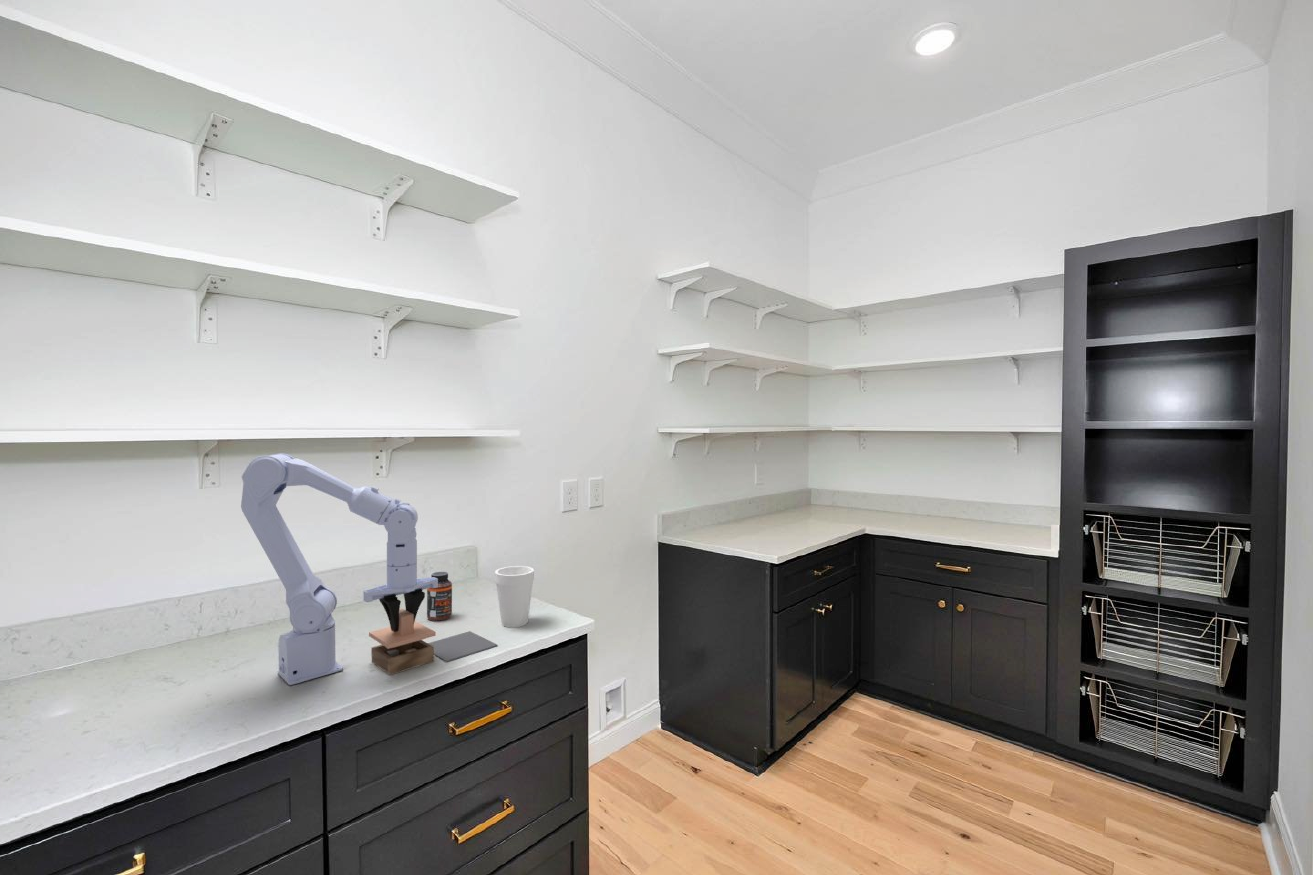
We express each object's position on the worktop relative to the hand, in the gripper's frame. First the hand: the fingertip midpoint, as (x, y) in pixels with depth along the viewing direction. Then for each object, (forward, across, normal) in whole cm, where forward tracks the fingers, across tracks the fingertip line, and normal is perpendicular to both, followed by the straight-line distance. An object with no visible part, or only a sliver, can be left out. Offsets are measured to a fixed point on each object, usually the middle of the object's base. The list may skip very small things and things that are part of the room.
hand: (402, 628), depth 120 cm
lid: (+2, 0, 0) cm, 2 cm away
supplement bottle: (+7, +18, +20) cm, 28 cm away
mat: (+7, +12, -1) cm, 14 cm away
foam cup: (+7, +29, +3) cm, 30 cm away
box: (+7, 0, 0) cm, 7 cm away
